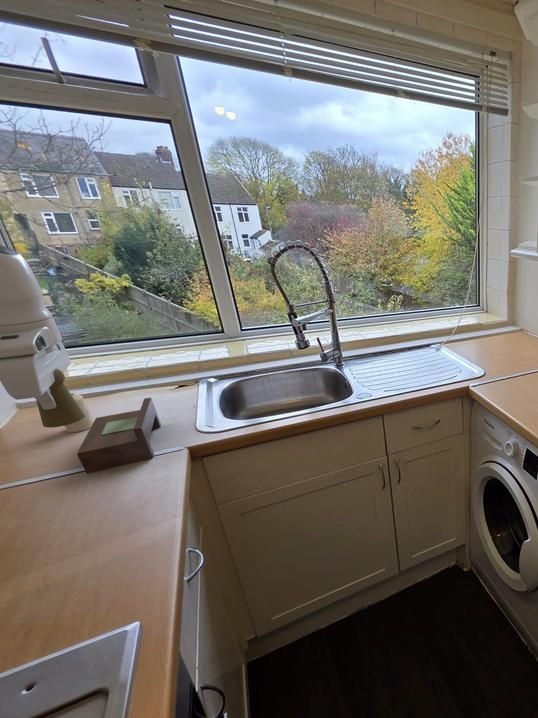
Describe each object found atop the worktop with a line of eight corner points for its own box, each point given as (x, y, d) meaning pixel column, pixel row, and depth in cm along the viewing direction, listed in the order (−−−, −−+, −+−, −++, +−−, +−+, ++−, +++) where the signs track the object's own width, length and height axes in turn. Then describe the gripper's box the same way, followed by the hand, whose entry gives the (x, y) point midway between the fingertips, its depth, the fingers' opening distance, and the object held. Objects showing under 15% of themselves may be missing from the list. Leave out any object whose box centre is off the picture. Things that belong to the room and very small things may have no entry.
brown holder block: (86, 473, 93) (71, 442, 90) (103, 435, 108) (91, 407, 105) (153, 458, 100) (141, 428, 96) (161, 424, 115) (151, 397, 111)
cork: (85, 410, 86) (64, 362, 82) (85, 420, 82) (63, 370, 78) (43, 419, 82) (19, 369, 78) (41, 430, 79) (15, 378, 74)
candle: (92, 420, 116) (77, 388, 112) (97, 426, 113) (82, 394, 109) (64, 428, 112) (49, 395, 108) (69, 434, 109) (53, 401, 105)
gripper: (20, 324, 82) (49, 387, 87) (-26, 353, 66) (13, 427, 72) (64, 320, 85) (90, 381, 90) (30, 347, 69) (63, 418, 75)
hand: (55, 402), depth 81 cm, fingers closed on cork, 4 cm apart
